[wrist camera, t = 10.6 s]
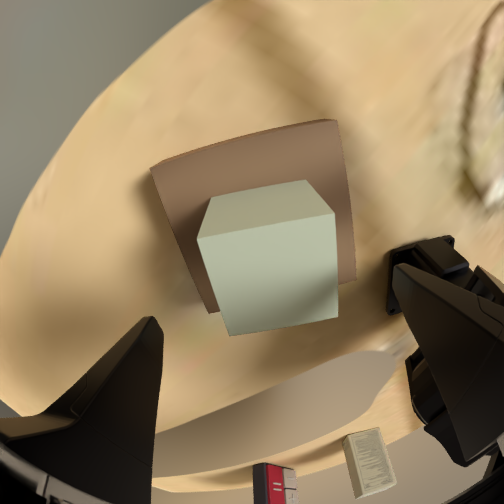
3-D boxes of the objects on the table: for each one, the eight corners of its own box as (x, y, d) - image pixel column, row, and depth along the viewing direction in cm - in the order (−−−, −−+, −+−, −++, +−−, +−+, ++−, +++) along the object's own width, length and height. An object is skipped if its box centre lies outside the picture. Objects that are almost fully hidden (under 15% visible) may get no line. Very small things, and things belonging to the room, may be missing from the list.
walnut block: (343, 257, 20) (356, 279, 17) (212, 287, 21) (208, 313, 18) (321, 118, 15) (336, 120, 12) (164, 159, 16) (149, 168, 13)
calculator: (297, 468, 44) (303, 525, 31) (281, 472, 46) (285, 527, 32) (267, 461, 40) (271, 527, 27) (249, 465, 41) (251, 528, 28)
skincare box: (341, 442, 37) (353, 499, 27) (347, 433, 35) (361, 495, 24) (373, 435, 37) (387, 489, 27) (381, 425, 35) (398, 483, 24)
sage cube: (314, 260, 16) (337, 316, 12) (232, 276, 16) (229, 336, 12) (305, 179, 14) (334, 213, 9) (211, 197, 14) (196, 238, 10)
